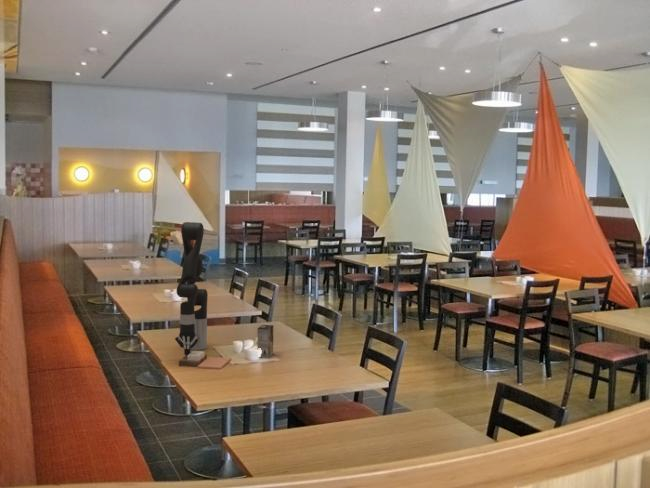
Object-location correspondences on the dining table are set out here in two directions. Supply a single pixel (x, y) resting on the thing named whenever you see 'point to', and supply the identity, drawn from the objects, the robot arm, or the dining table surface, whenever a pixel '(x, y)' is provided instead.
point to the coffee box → (265, 340)
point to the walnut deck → (191, 362)
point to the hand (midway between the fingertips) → (187, 355)
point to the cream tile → (196, 355)
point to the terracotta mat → (214, 363)
